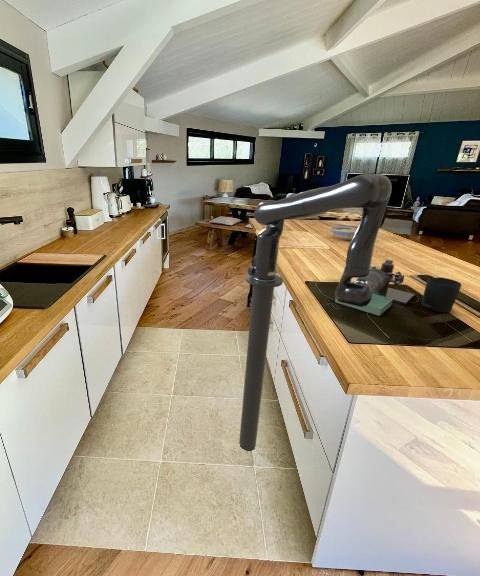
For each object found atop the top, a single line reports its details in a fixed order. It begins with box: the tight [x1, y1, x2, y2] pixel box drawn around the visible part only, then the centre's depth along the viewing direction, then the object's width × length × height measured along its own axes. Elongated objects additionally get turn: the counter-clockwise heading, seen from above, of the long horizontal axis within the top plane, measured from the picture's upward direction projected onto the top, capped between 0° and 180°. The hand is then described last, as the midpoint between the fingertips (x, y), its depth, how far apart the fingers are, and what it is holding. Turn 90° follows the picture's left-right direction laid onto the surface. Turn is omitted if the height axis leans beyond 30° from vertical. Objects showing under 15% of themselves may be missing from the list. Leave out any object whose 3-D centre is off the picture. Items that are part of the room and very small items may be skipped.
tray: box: [334, 294, 393, 317], centre depth 114 cm, size 15×12×3 cm
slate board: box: [373, 287, 415, 306], centre depth 123 cm, size 20×12×1 cm, turn 43°
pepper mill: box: [378, 258, 395, 293], centre depth 121 cm, size 4×4×13 cm
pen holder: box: [421, 276, 462, 314], centre depth 110 cm, size 9×9×10 cm
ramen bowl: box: [329, 223, 358, 241], centre depth 209 cm, size 25×23×8 cm
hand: (386, 271), depth 121 cm, fingers open, 8 cm apart
